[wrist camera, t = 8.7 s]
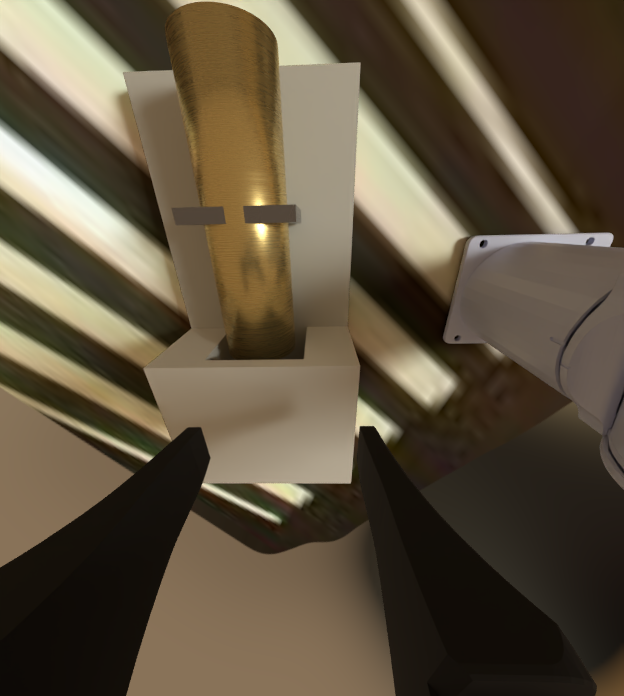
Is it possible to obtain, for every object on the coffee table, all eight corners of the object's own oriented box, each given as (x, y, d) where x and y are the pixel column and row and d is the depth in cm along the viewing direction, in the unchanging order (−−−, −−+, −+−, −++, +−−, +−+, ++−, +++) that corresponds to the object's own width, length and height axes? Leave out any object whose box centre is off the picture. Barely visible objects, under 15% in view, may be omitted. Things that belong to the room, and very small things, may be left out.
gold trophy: (295, 72, 12) (286, -3, 8) (305, 333, 18) (302, 362, 14) (184, 77, 12) (120, 5, 8) (232, 334, 18) (209, 363, 14)
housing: (356, 76, 13) (394, -63, 7) (341, 415, 24) (350, 483, 18) (138, 84, 13) (-20, -41, 7) (221, 416, 24) (188, 483, 18)
